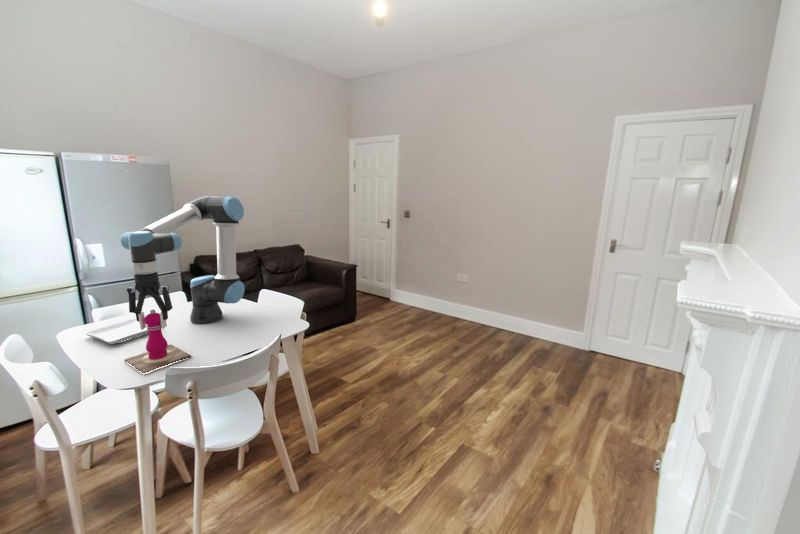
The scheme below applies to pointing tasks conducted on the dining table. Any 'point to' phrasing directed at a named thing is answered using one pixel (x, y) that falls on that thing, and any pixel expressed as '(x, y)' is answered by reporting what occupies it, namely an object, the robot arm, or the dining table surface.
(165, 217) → the robot arm
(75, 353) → the dining table surface
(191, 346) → the dining table surface
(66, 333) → the dining table surface
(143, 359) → the walnut stand
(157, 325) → the pepper mill
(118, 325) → the salad plate
